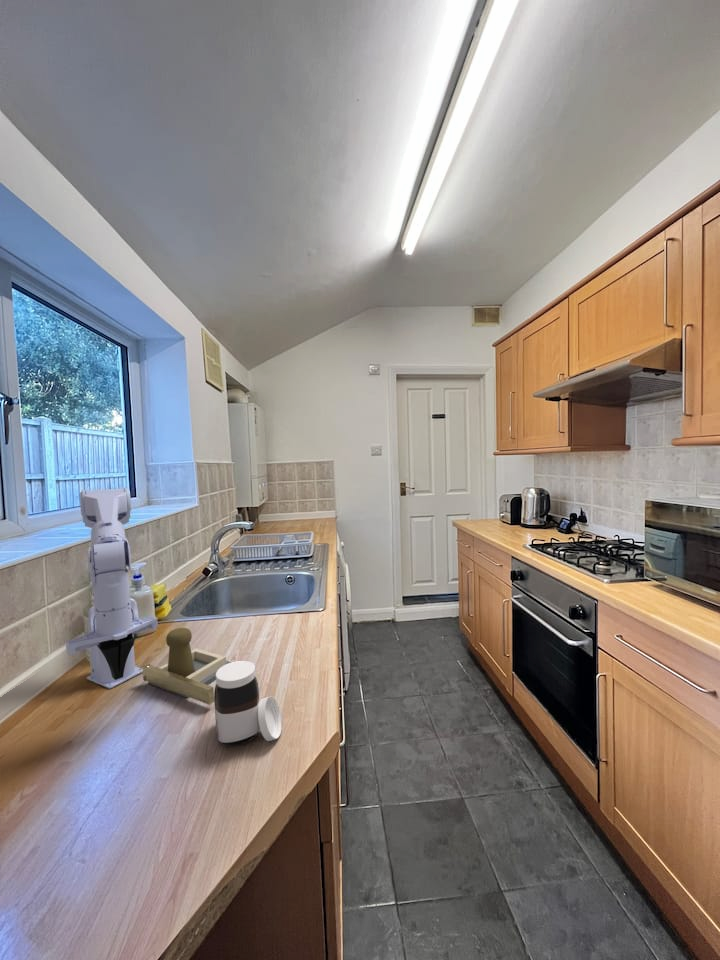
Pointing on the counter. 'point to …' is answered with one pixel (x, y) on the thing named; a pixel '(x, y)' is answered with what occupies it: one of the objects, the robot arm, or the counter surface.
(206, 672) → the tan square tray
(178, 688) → the bar
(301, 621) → the counter surface
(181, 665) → the brown rounded piece
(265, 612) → the counter surface
